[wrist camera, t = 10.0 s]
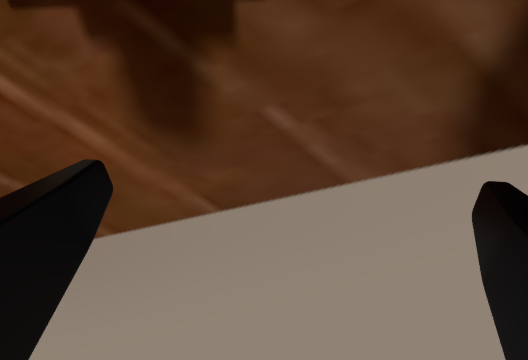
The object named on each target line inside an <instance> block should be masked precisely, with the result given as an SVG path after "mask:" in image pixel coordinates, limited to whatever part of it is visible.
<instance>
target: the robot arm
mask: <svg viewBox="0 0 528 360" xmlns="http://www.w3.org/2000/svg"><path fill="white" fill-rule="evenodd" d="M112 193H113V185H112V182H111V180H110V178H109V175H108V173H107V171H106V168H105V166H104V164H103V163H102V162H101V161H99V160H88V159H86V160H82V161H80V162H78V163H76V164H73V165H71V166H69V167H67V168H65V169H62V170H60V171H58V172H56V173H54V174H51V175H49V176H47V177H45V178H43V179H40V180H38V181H36V182H34V183H32V184H30V185H27V186H25V187H23V188H21V189H19V190H16V191H14V192H12V193H10V194H8V195H5V196H3V197H1V198H0V360H28V359H29V358H30V356H31V354H32V352H33V351H34V349H35V346H36V345H37V343H38V341H39V339H40V338H41V336H42V334H43V332H44V330H45V328H46V327H47V325H48V323H49V321H50V319H51V317H52V316H53V314H54V312H55V310H56V308H57V306H58V305H59V303H60V301H61V299H62V297H63V295H64V294H65V292H66V290H67V288H68V286H69V284H70V282H71V281H72V279H73V277H74V275H75V273H76V272H77V270H78V268H79V266H80V264H81V262H82V260H83V259H84V257H85V255H86V253H87V251H88V249H89V247H90V245H91V243H92V241H93V239H94V237H95V235H96V232H97V230H98V227H99V225H100V223H101V220H102V218H103V215H104V213H105V210H106V208H107V206H108V203H109V201H110V198H111V196H112ZM472 223H473V229H474V235H475V241H476V247H477V253H478V259H479V265H480V271H481V276H482V281H483V285H484V289H485V293H486V296H487V299H488V303H489V306H490V309H491V313H492V316H493V319H494V323H495V326H496V329H497V332H498V336H499V339H500V342H501V346H502V348H503V352H504V356H505V359H506V360H528V196H527V195H526V194H524V193H523V192H521V191H520V190H518V189H517V188H515V187H514V186H513V185H511V184H509V183H507V182H495V181H488V182H486V183H484V184H483V186H482V188H481V190H480V193H479V195H478V198H477V200H476V203H475V205H474V208H473V211H472Z"/></svg>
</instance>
